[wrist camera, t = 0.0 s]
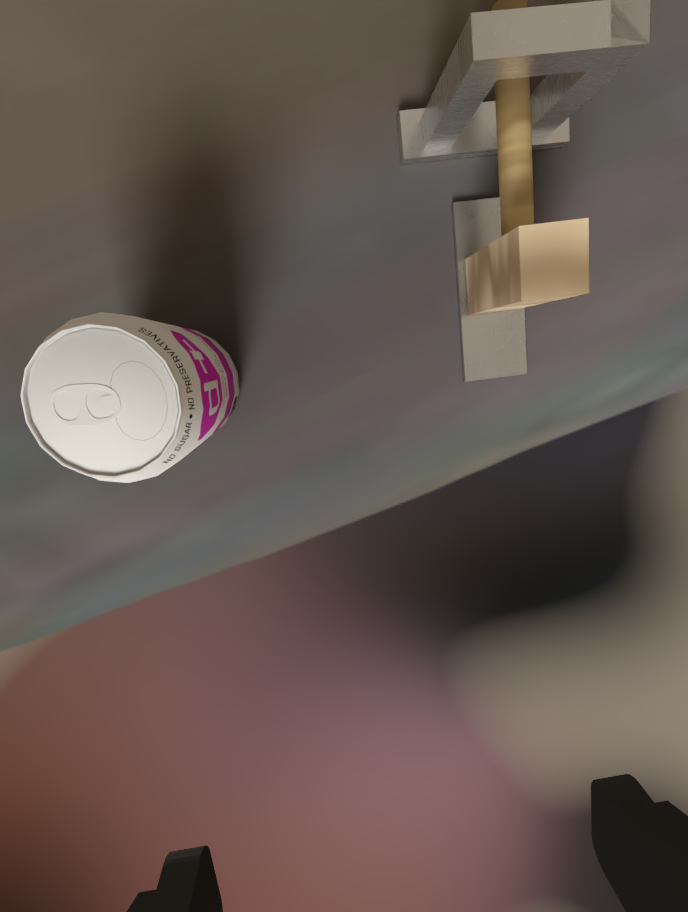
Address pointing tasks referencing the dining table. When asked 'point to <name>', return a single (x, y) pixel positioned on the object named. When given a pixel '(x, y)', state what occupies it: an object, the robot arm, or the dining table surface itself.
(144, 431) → the supplement can
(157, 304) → the dining table surface
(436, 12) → the dining table surface
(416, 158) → the white stand
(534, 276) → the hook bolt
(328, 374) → the dining table surface
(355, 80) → the dining table surface
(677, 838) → the robot arm
